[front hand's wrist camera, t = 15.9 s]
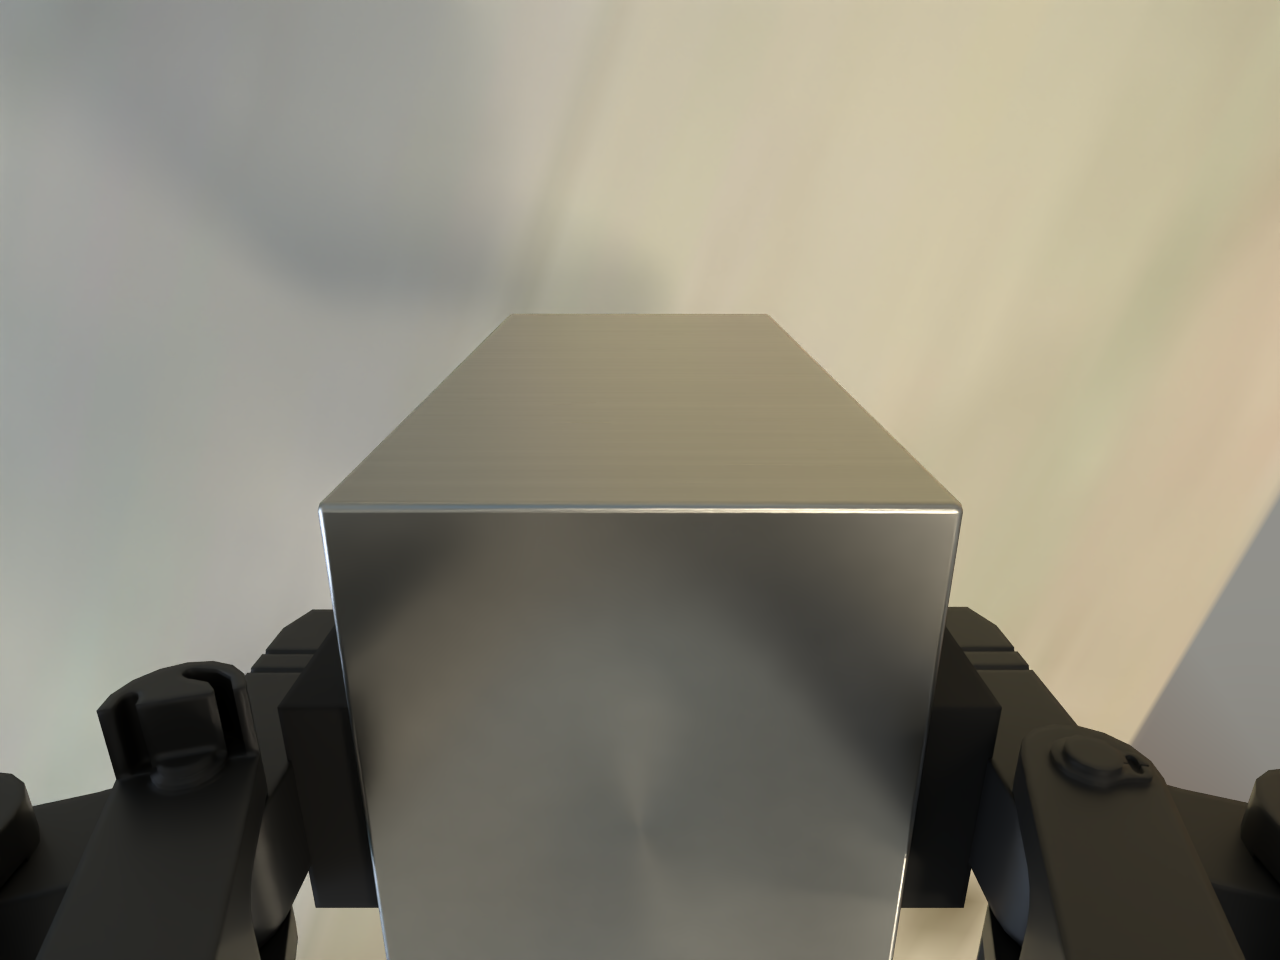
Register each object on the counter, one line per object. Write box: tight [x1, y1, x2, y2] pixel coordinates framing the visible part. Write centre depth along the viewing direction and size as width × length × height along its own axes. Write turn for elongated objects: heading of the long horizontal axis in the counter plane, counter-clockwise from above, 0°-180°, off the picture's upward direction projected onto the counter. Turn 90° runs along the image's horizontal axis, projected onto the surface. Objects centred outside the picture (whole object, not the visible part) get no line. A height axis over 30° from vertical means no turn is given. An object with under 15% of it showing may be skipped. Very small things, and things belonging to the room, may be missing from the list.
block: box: [318, 314, 963, 960], centre depth 14 cm, size 6×7×11 cm
